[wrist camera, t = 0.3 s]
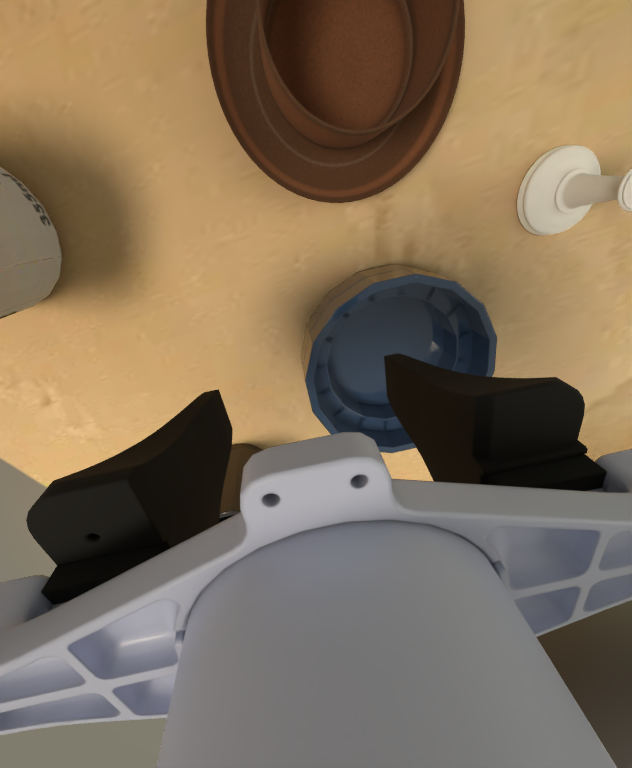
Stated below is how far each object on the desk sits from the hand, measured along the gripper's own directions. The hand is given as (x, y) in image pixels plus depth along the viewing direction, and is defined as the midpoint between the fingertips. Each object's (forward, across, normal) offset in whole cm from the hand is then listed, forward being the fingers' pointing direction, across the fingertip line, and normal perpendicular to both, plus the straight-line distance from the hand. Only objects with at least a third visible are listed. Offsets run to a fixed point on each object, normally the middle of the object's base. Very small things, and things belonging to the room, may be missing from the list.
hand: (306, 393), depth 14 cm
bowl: (+10, -6, +3) cm, 12 cm away
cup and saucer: (+10, -5, -13) cm, 17 cm away
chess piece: (+10, -18, -5) cm, 21 cm away
